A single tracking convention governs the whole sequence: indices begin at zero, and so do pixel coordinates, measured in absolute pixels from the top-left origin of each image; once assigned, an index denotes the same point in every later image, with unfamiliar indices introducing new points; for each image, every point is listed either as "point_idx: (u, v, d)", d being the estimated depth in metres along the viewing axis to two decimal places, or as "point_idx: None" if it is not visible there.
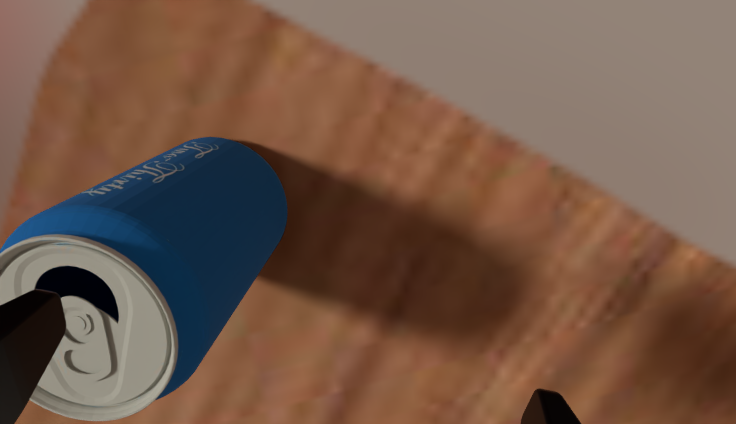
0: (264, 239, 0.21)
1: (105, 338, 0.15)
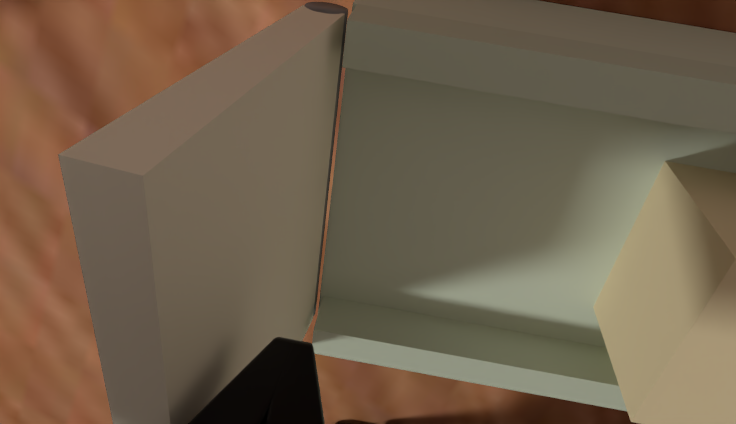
0: None
1: None
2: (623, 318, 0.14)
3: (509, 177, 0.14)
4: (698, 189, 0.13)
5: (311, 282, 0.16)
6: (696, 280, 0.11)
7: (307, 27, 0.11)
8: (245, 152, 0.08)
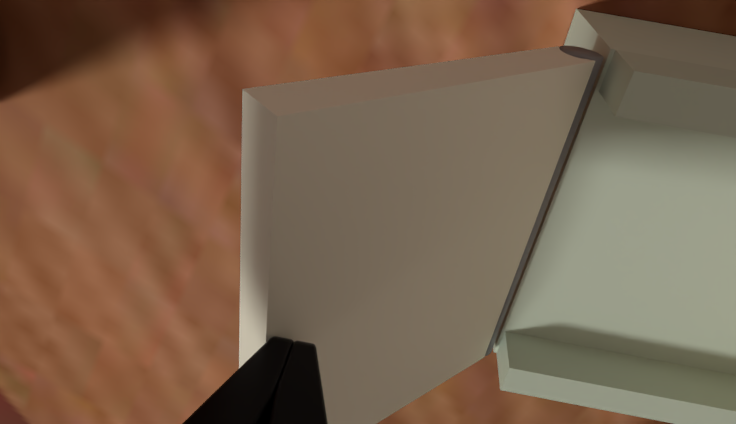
0: None
1: None
2: None
3: (733, 220, 0.14)
4: None
5: (488, 318, 0.16)
6: None
7: (539, 62, 0.11)
8: (406, 145, 0.09)
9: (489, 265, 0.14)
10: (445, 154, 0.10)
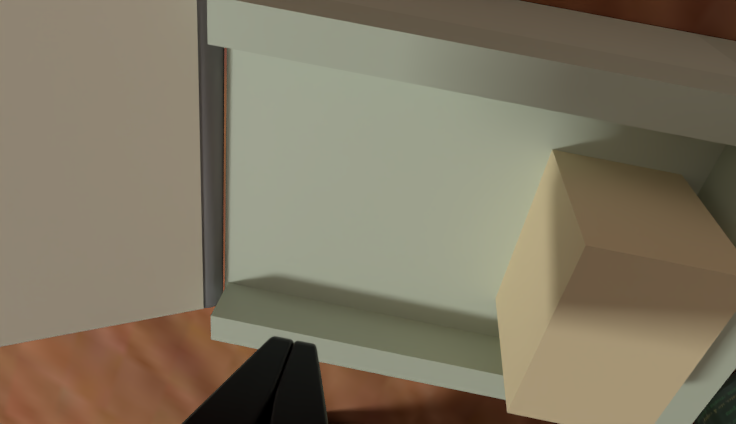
0: None
1: None
2: (512, 309, 0.14)
3: (400, 163, 0.14)
4: (576, 178, 0.12)
5: (180, 261, 0.16)
6: (560, 268, 0.11)
7: None
8: None
9: (142, 198, 0.14)
10: None
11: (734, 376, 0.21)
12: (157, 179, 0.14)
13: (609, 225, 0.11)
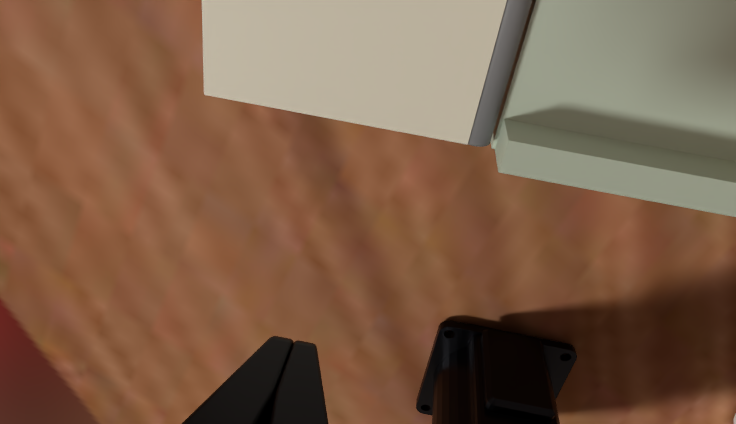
0: None
1: None
2: None
3: None
4: None
5: (463, 73, 0.15)
6: None
7: None
8: None
9: None
10: None
11: None
12: None
13: None
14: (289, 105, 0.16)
